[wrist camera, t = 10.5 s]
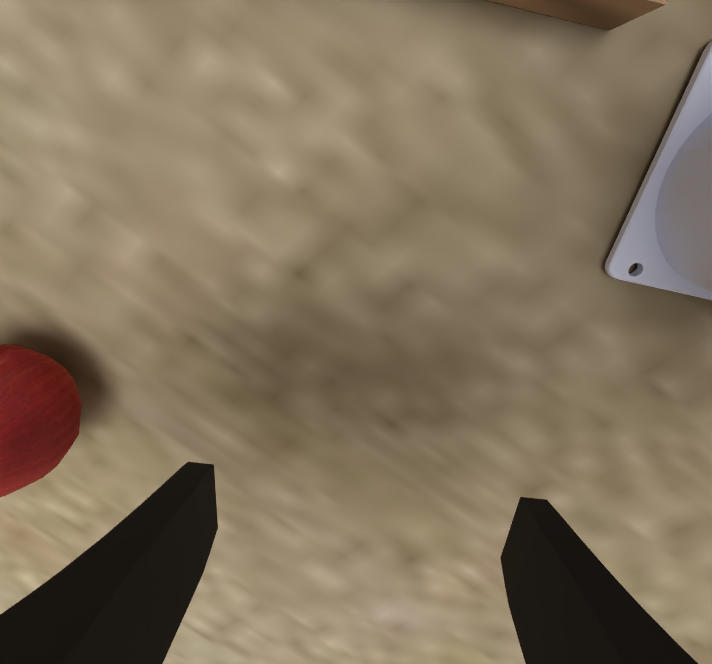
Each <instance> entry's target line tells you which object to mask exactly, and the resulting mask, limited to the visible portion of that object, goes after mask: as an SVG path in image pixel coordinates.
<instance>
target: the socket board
mask: <svg viewBox="0 0 712 664" xmlns="http://www.w3.org/2000/svg"><path fill="white" fill-rule="evenodd" d="M487 1H491V2H496V3H500V4H504V5H508V6H512V7H516V8H520V9H524V10H528V11H532V12H536V13H541V14H545V15H549V16H553V17H557V18H561V19H565V20H569V21H573V22H577V23H581V24H586V25H590V26H594V27H598V28H602V29H606V30H611V29H613V28H616V27H618V26H620V25H622V24H624V23H626V22H629V21H631V20H633V19H635V18H637V17H639V16H642V15H644V14H646V13H648V12H650V11H652V10H655V9H657V8H659V7H661V6H663V5H665V4H666V2H667V0H487Z"/></svg>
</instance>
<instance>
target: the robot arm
mask: <svg viewBox="0 0 712 664" xmlns="http://www.w3.org/2000/svg"><path fill="white" fill-rule="evenodd" d="M634 263H637V264H638V265H637V269H636V270H635V271H634V272H632V273H628V270H629V267H630V266H631V265H632V264H634ZM605 271H606V272H607V274H608V275H610V276H611V277H613V278H615V279H619V280H623V281H628V282H632V283H637V284H641V285H646V286H650V287H655V288H659V289H664V290H668V291H673V292H677V293H682V294H686V295H691V296H695V297H700V298H704V299H709V300H712V41H711V42H710V43H709V44H708V45H707V46H706V48H705V50H704V51H703V53H702V56H701V58H700V60H699V62H698V64H697V66H696V68H695V71H694V73H693V75H692V77H691V79H690V81H689V84H688V86H687V88H686V90H685V92H684V94H683V97H682V99H681V101H680V103H679V105H678V107H677V109H676V112H675V114H674V116H673V118H672V120H671V122H670V125H669V127H668V129H667V131H666V133H665V135H664V137H663V140H662V142H661V144H660V146H659V148H658V150H657V153H656V155H655V157H654V159H653V161H652V163H651V166H650V168H649V170H648V172H647V174H646V176H645V178H644V181H643V183H642V185H641V187H640V189H639V191H638V194H637V196H636V198H635V200H634V202H633V204H632V207H631V209H630V211H629V213H628V215H627V217H626V219H625V222H624V224H623V226H622V228H621V230H620V232H619V235H618V237H617V239H616V241H615V243H614V245H613V248H612V250H611V252H610V254H609V256H608V258H607V260H606V264H605ZM217 529H218V523H217V508H216V492H215V476H214V465H212V464H203V463H193V462H188V463H186V464H185V465H184V466H182V467H181V468H180V469H179V470H178V471H177V472H176V473H175V474H174V475H173V476H171V477H170V478H169V479H168V480H167V481H166V482H165V483H164V484H163V485H162V486H161V487H160V488H158V489H157V490H156V491H155V492H154V493H153V494H152V495H151V496H150V497H149V498H147V499H146V500H145V501H144V502H143V503H142V504H141V505H140V506H139V507H137V508H136V509H135V510H134V511H133V512H132V513H130V514H129V515H128V516H127V517H126V518H125V519H124V520H122V521H121V522H120V523H119V524H118V525H117V526H115V527H114V528H113V529H112V530H111V531H110V532H109V533H107V534H106V535H105V536H104V537H103V538H101V539H100V540H99V541H98V542H96V543H95V544H94V545H93V546H91V547H90V548H89V549H88V550H86V551H85V552H84V553H83V554H81V555H80V556H79V557H78V558H76V559H75V560H74V561H73V562H71V563H70V564H69V565H68V566H66V567H65V568H64V569H63V570H61V571H60V572H59V573H57V574H56V575H55V576H53V577H52V578H51V579H49V580H48V581H47V582H45V583H44V584H43V585H41V586H40V587H39V588H37V589H36V590H35V591H33V592H32V593H30V594H29V595H28V596H26V597H25V598H23V599H22V600H21V601H19V602H18V603H16V604H15V605H14V606H12V607H11V608H9V609H8V610H6V611H5V612H4V613H2V614H1V615H0V664H162V663H163V661H164V659H165V657H166V654H167V652H168V650H169V648H170V646H171V643H172V641H173V639H174V637H175V634H176V632H177V630H178V628H179V626H180V623H181V621H182V619H183V617H184V615H185V612H186V610H187V608H188V606H189V603H190V601H191V599H192V597H193V594H194V592H195V590H196V588H197V585H198V583H199V581H200V579H201V576H202V574H203V572H204V569H205V566H206V563H207V560H208V557H209V554H210V551H211V548H212V544H213V541H214V538H215V535H216V532H217ZM501 564H502V570H503V576H504V582H505V587H506V593H507V598H508V603H509V608H510V611H511V615H512V618H513V622H514V625H515V629H516V632H517V635H518V639H519V642H520V646H521V649H522V653H523V656H524V659H525V663H526V664H698V663H697V662H696V661H695V660H694V659H693V658H692V657H691V656H690V655H689V654H688V653H687V652H685V651H684V650H683V649H682V648H681V647H680V646H679V645H678V644H677V643H676V642H675V641H674V640H673V639H672V638H671V637H670V636H669V635H668V634H667V633H666V631H665V630H664V629H663V628H662V627H661V626H660V625H659V624H658V623H657V622H656V621H655V620H654V619H653V618H652V617H651V616H650V615H649V614H648V613H647V612H646V611H645V610H644V609H643V608H642V607H641V606H640V605H639V604H638V602H637V601H636V600H635V599H634V598H633V597H632V596H631V595H630V594H629V593H628V592H627V591H626V590H625V589H624V587H623V586H622V585H621V584H620V583H619V582H618V581H617V580H616V579H615V578H614V576H613V575H612V574H611V573H610V572H609V571H608V570H607V569H606V567H605V566H604V565H603V564H602V563H601V562H600V561H599V560H598V558H597V557H596V556H595V555H594V554H593V553H592V552H591V550H590V549H589V548H588V547H587V546H586V545H585V543H584V542H583V541H582V540H581V539H580V538H579V537H578V535H577V534H576V533H575V532H574V531H573V529H572V528H571V527H570V526H569V525H568V524H567V522H566V521H565V520H564V519H563V518H562V517H561V515H560V514H559V513H558V512H557V511H556V510H555V509H554V507H553V506H552V505H551V504H550V503H549V502H548V501H547V500H544V499H534V498H525V497H520V500H519V503H518V506H517V509H516V512H515V515H514V518H513V521H512V524H511V528H510V531H509V534H508V537H507V540H506V543H505V546H504V549H503V552H502V555H501Z"/></svg>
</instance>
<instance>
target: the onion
mask: <svg viewBox="0 0 712 664" xmlns="http://www.w3.org/2000/svg"><path fill="white" fill-rule="evenodd" d="M81 407H82V401H81V398H80V395H79V392H78V389H77V385H76V382H75V380H74V379H73V378H72V376H71V375H70V374H69V372H68V371H67V370H66V369H65V367H63V366H62V365H60V364H59V363H58V362H56V361H55V360H53V359H52V358H50V357H49V356H46V355H44V354H41V353H38V352H35V351H32V350H29V349H27V348H24V347H21V346H18V345H0V497H3V496H6V495H8V494H10V493H12V492H14V491H16V490H18V489H21V488H23V487H25V486H27V485H29V484H31V483H33V482H35V481H37V480H39V479H41V478H43V477H44V476H45V475H47V474H48V473H49V472H50V471H51V470H53V469H54V468H55V467H56V466H57V465H58V464H59V463H60V461H61V460H62V459H63V457H64V456H65V454H66V453H67V452H68V450H69V449H70V448H71V446H72V444H73V443H74V441H75V439H76V438H77V436H78V435H79V426H80V415H81Z"/></svg>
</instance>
